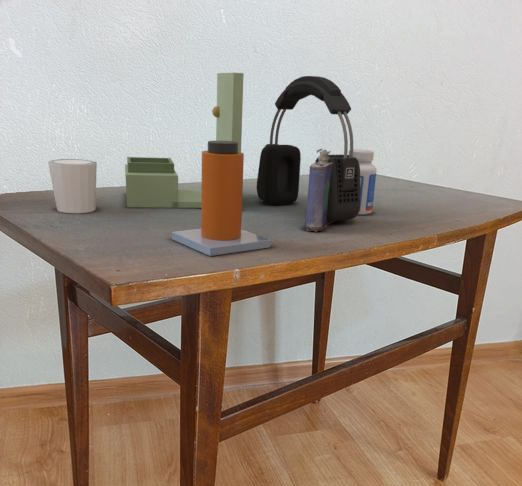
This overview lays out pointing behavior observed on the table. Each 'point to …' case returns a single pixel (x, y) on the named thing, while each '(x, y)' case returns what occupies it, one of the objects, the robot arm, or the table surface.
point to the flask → (318, 193)
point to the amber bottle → (222, 191)
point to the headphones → (288, 159)
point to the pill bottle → (366, 179)
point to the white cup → (74, 184)
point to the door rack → (162, 169)
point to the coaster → (220, 242)
